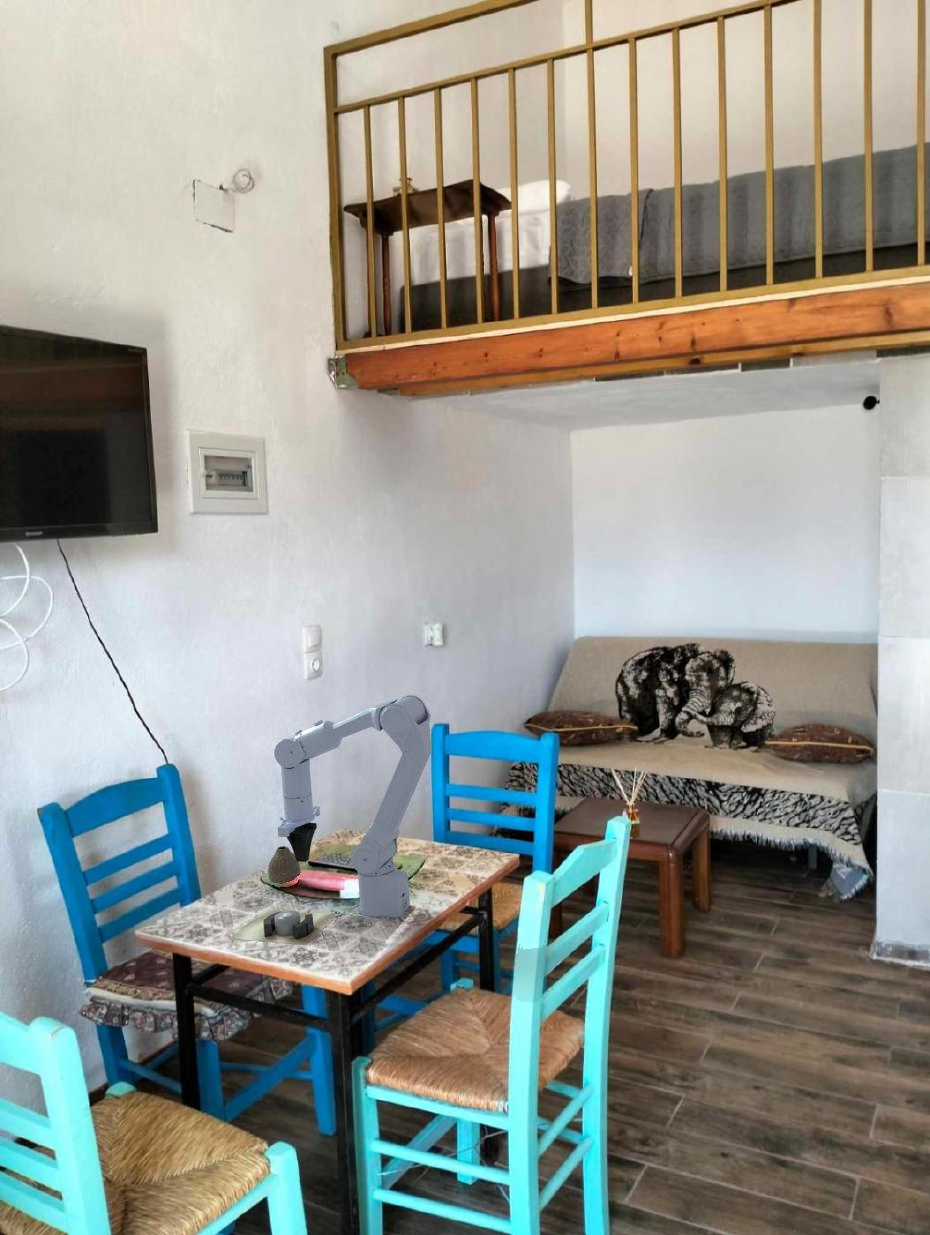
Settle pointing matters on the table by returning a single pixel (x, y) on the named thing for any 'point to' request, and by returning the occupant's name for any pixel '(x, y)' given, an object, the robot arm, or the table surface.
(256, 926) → the board
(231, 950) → the table surface
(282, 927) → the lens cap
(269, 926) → the split dark grey block
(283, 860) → the vase
